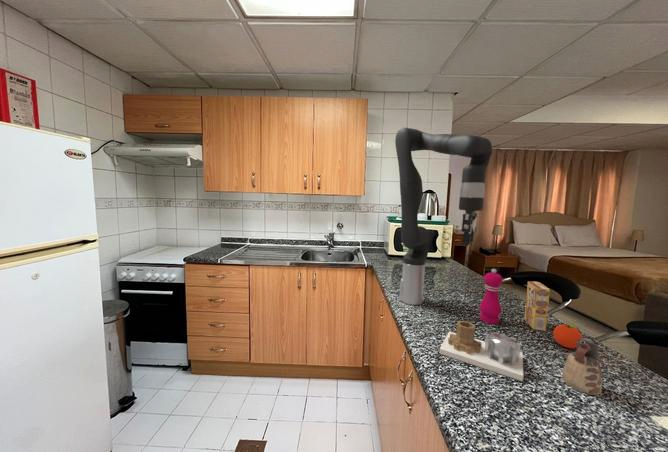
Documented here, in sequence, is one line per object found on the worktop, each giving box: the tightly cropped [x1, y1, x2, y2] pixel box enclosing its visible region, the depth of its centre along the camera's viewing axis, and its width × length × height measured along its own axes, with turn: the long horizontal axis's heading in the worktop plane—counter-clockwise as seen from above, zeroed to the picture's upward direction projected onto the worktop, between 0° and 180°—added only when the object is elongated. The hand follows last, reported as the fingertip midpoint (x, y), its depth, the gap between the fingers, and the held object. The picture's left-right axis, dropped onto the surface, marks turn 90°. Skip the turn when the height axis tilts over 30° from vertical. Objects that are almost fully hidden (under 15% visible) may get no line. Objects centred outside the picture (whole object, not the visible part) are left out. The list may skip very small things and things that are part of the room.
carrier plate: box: [439, 331, 524, 382], centre depth 78 cm, size 20×13×7 cm, turn 56°
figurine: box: [562, 337, 603, 396], centre depth 66 cm, size 7×7×12 cm
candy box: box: [524, 280, 551, 332], centre depth 98 cm, size 9×4×15 cm, turn 162°
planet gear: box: [448, 320, 482, 354], centre depth 80 cm, size 9×9×6 cm
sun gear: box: [485, 331, 522, 366], centre depth 75 cm, size 8×8×5 cm
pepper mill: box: [479, 268, 503, 325], centre depth 101 cm, size 7×7×20 cm
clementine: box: [553, 324, 583, 349], centre depth 84 cm, size 8×7×7 cm
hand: (467, 243), depth 93 cm, fingers open, 8 cm apart
